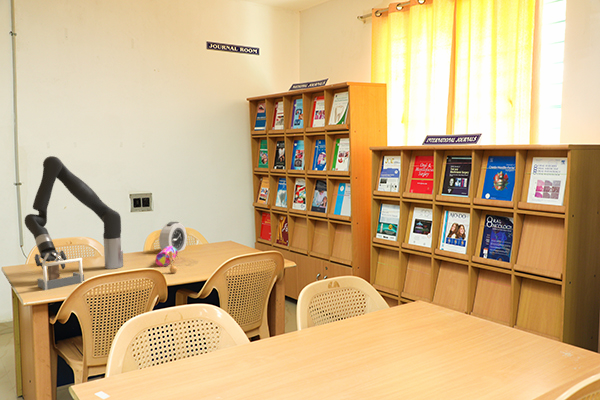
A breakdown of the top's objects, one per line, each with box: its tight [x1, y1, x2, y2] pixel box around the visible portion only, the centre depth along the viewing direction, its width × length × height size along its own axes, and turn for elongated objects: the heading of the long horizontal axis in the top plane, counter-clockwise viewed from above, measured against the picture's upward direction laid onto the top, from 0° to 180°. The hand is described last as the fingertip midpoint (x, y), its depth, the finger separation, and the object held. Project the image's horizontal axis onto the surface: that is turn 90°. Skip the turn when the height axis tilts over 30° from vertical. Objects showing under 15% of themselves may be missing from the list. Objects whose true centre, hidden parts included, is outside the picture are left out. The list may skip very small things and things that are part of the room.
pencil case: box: [155, 246, 179, 267], centre depth 297 cm, size 22×9×9 cm, turn 4°
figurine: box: [165, 251, 179, 274], centre depth 271 cm, size 8×6×12 cm
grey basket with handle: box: [37, 257, 85, 291], centre depth 248 cm, size 20×9×13 cm, turn 137°
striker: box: [47, 264, 61, 281], centre depth 254 cm, size 4×4×10 cm
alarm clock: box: [158, 221, 188, 252], centre depth 332 cm, size 21×8×20 cm, turn 160°
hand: (55, 269), depth 253 cm, fingers open, 8 cm apart
